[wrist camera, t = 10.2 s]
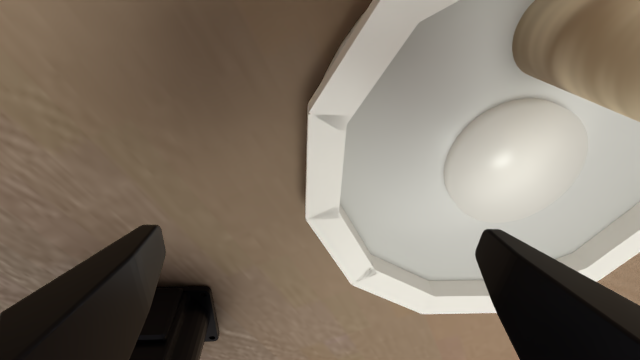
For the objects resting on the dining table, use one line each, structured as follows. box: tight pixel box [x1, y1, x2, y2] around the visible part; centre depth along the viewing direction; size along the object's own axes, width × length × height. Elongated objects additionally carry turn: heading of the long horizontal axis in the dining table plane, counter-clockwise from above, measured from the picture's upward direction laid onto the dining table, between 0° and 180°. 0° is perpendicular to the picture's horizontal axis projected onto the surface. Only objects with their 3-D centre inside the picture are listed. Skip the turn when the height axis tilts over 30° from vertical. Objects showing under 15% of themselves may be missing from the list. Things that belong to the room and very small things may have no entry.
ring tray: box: [305, 0, 640, 314], centre depth 20 cm, size 25×25×2 cm
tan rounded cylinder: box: [512, 0, 640, 122], centre depth 14 cm, size 4×4×7 cm
